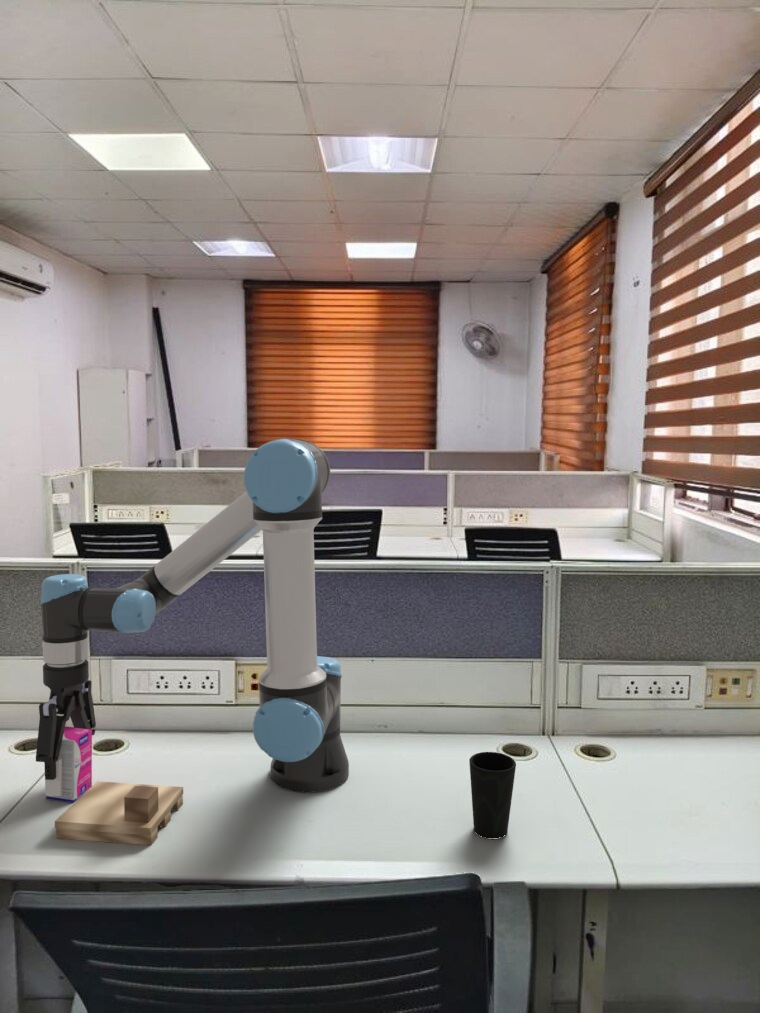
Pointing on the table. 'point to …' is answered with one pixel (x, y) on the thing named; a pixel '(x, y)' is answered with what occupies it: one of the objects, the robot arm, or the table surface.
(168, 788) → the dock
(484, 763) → the cup
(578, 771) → the table surface
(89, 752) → the supplement box
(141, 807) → the brown wooden cube
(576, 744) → the table surface
